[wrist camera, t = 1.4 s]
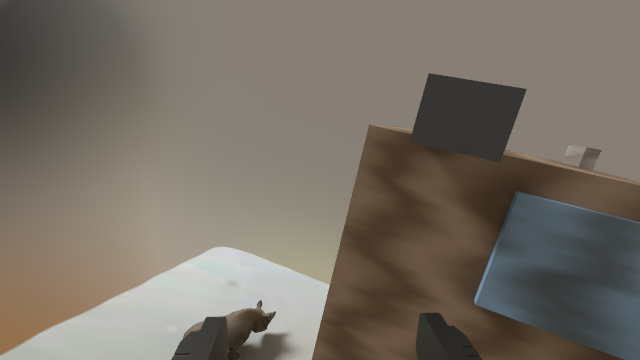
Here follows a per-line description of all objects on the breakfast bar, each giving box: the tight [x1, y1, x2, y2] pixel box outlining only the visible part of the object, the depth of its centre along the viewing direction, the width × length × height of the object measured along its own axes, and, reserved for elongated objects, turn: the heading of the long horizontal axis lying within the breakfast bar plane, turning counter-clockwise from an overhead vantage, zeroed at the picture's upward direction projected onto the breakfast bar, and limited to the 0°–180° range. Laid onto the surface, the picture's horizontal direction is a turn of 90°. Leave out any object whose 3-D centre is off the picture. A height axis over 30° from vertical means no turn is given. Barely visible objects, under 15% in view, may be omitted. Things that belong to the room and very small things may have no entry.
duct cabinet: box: [312, 125, 640, 360], centre depth 31 cm, size 20×21×34 cm
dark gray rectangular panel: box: [410, 73, 526, 163], centre depth 23 cm, size 3×28×2 cm, turn 159°
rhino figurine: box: [183, 300, 276, 360], centre depth 38 cm, size 4×14×6 cm, turn 135°
